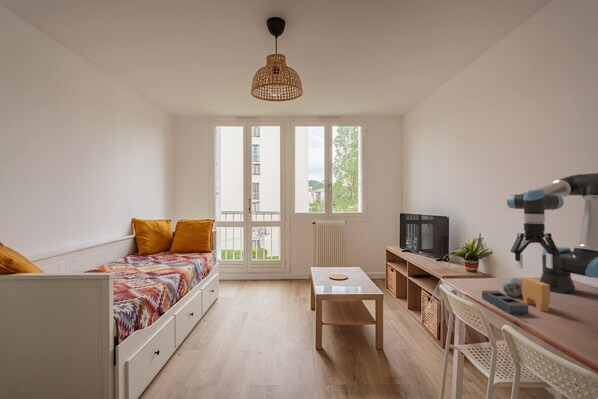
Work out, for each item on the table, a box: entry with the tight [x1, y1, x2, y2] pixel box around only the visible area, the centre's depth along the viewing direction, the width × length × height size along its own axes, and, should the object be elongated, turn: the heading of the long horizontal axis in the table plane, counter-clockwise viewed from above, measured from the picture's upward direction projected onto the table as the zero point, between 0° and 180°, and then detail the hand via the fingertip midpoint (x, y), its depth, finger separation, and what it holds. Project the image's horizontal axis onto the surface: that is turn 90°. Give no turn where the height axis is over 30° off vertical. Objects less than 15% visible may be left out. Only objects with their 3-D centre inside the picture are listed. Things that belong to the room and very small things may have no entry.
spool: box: [502, 277, 522, 298], centre depth 151 cm, size 14×10×10 cm
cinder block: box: [481, 290, 529, 316], centre depth 135 cm, size 8×20×4 cm, turn 178°
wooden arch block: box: [521, 277, 551, 312], centre depth 134 cm, size 4×12×12 cm, turn 178°
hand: (534, 267), depth 134 cm, fingers open, 13 cm apart
